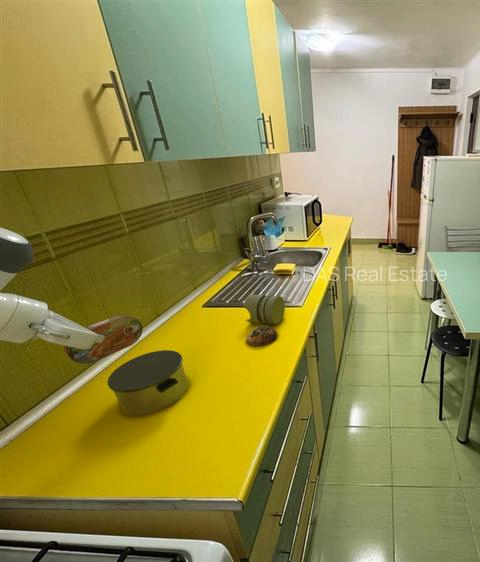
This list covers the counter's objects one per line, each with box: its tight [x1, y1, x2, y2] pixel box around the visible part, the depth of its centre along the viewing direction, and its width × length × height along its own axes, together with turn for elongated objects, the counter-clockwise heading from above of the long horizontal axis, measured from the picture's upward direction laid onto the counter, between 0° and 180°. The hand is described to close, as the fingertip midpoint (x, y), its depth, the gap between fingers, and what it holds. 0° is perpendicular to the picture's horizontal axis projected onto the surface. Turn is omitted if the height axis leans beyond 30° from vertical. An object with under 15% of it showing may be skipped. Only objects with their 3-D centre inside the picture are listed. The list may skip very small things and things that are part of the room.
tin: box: [63, 314, 143, 365], centre depth 75 cm, size 15×3×8 cm, turn 152°
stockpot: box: [106, 349, 189, 417], centre depth 86 cm, size 19×17×9 cm
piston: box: [242, 294, 286, 325], centre depth 123 cm, size 11×12×11 cm
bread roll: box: [245, 325, 278, 347], centre depth 113 cm, size 11×11×5 cm
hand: (98, 336), depth 73 cm, fingers closed on tin, 2 cm apart
